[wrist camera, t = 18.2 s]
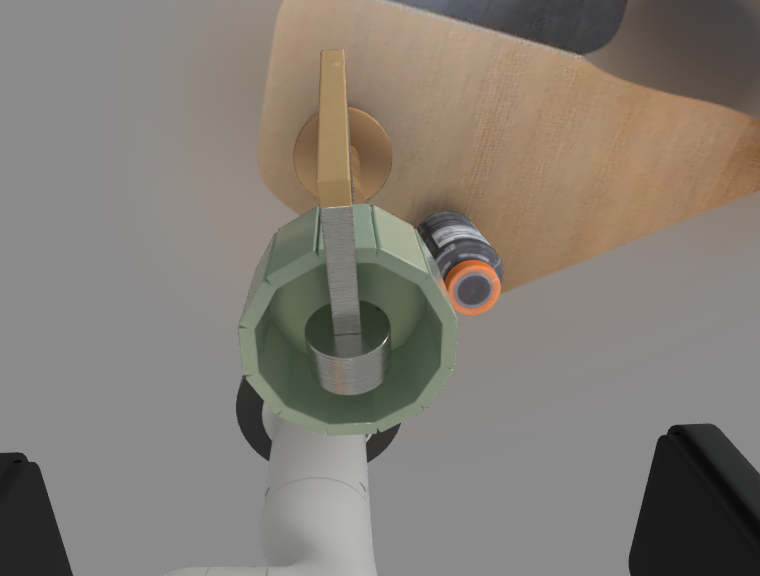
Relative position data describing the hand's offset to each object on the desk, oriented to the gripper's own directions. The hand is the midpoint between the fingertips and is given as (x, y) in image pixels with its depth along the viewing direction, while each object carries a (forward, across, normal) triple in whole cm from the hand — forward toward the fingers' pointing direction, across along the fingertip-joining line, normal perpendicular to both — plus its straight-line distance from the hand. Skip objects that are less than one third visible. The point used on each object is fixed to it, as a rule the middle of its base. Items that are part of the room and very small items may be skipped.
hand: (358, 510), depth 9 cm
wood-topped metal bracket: (+17, 0, +5) cm, 18 cm away
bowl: (+17, 0, +4) cm, 18 cm away
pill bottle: (+43, -9, +12) cm, 46 cm away
